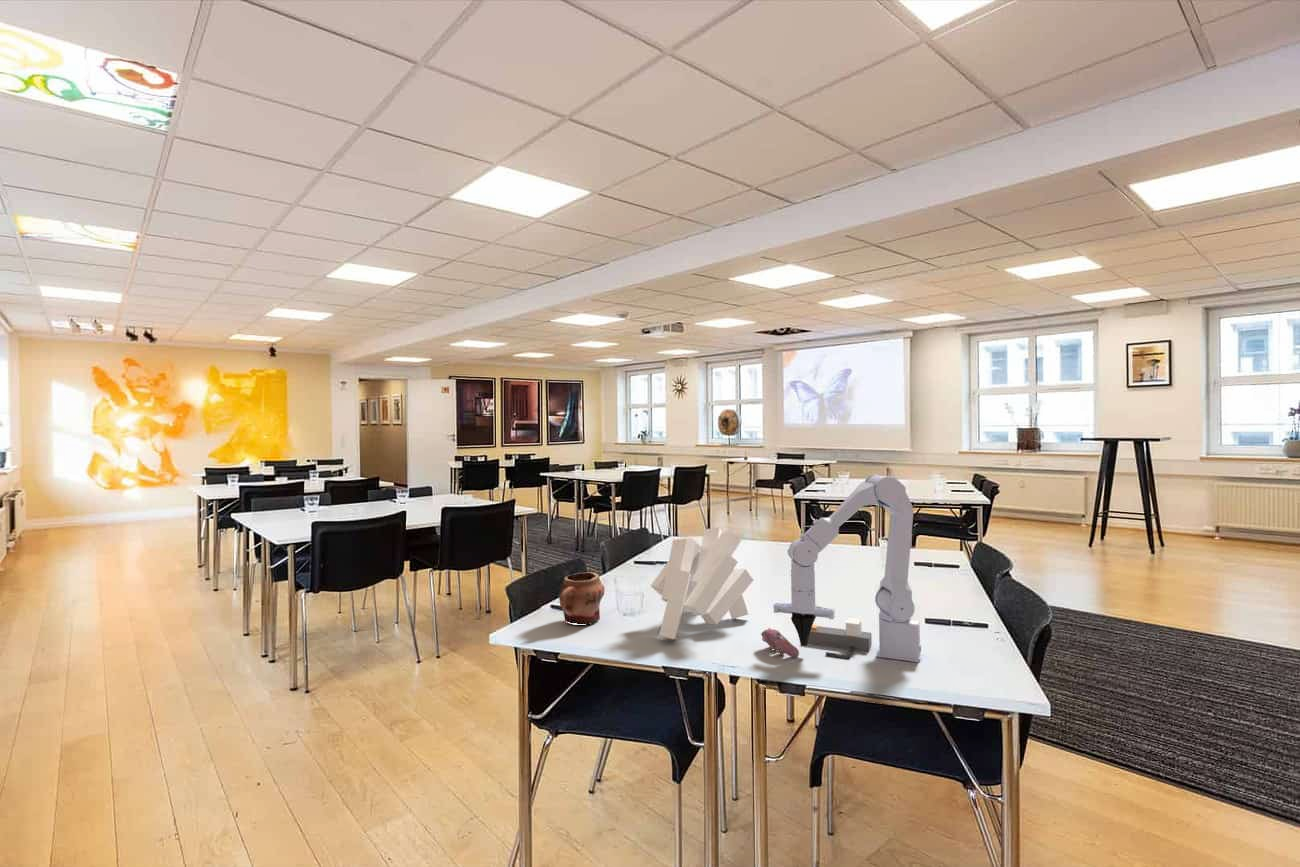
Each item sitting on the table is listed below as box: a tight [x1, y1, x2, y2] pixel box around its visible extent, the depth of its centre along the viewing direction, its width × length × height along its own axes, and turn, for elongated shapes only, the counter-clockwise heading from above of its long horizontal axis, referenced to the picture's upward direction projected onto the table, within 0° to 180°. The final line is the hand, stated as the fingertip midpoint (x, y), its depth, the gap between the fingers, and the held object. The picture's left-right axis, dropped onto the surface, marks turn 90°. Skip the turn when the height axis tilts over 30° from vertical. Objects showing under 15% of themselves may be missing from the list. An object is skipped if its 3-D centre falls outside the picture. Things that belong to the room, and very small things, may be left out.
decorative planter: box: [558, 571, 605, 625], centre depth 180 cm, size 20×12×14 cm, turn 160°
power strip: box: [808, 617, 873, 660], centre depth 156 cm, size 16×12×6 cm
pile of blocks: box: [650, 527, 754, 640], centre depth 178 cm, size 35×30×35 cm
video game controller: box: [760, 627, 800, 658], centre depth 154 cm, size 10×5×7 cm, turn 21°
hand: (804, 644), depth 151 cm, fingers closed
